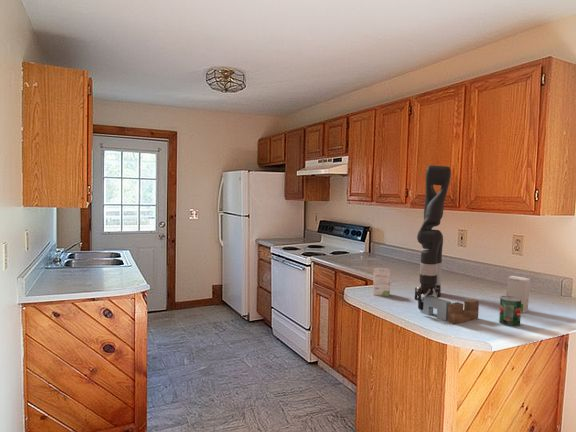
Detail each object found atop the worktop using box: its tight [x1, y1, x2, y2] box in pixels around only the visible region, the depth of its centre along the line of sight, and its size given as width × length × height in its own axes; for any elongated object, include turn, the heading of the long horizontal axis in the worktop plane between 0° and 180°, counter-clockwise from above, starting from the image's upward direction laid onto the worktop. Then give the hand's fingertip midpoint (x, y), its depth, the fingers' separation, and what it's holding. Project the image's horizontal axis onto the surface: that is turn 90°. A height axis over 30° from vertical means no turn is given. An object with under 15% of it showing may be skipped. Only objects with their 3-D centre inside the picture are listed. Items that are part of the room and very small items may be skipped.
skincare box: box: [505, 275, 531, 314], centre depth 190 cm, size 8×7×16 cm
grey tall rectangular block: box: [419, 295, 452, 322], centre depth 180 cm, size 14×3×8 cm, turn 29°
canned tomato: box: [498, 295, 522, 328], centre depth 170 cm, size 8×8×11 cm
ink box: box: [372, 267, 391, 297], centre depth 215 cm, size 9×5×15 cm, turn 74°
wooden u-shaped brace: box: [447, 298, 480, 325], centre depth 174 cm, size 3×16×8 cm, turn 119°
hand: (427, 308), depth 184 cm, fingers open, 8 cm apart
